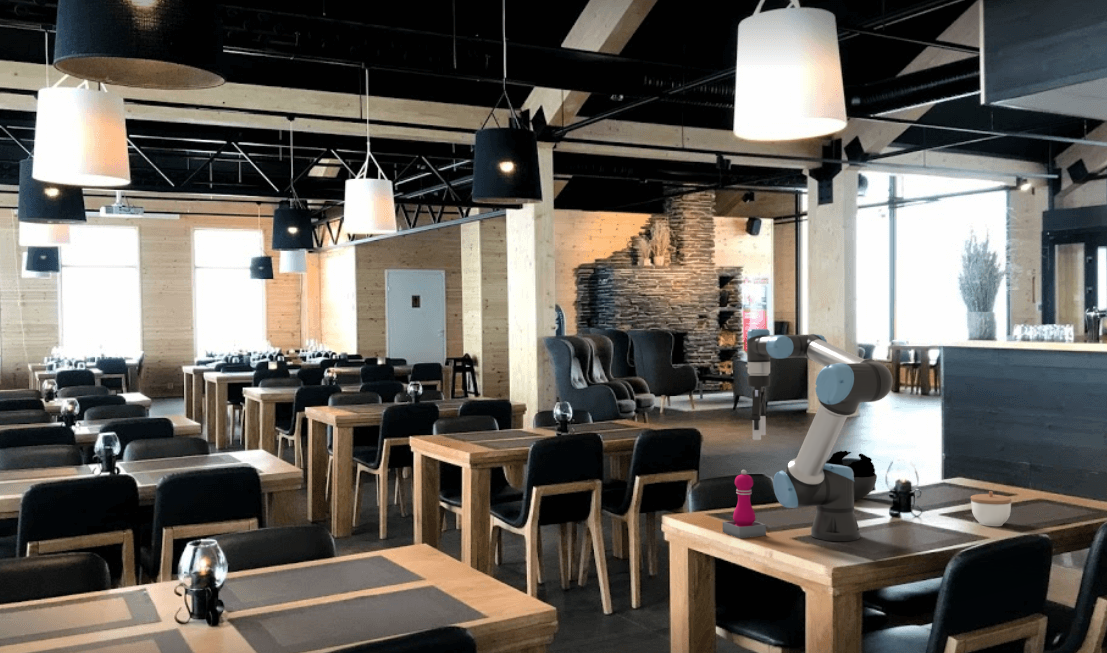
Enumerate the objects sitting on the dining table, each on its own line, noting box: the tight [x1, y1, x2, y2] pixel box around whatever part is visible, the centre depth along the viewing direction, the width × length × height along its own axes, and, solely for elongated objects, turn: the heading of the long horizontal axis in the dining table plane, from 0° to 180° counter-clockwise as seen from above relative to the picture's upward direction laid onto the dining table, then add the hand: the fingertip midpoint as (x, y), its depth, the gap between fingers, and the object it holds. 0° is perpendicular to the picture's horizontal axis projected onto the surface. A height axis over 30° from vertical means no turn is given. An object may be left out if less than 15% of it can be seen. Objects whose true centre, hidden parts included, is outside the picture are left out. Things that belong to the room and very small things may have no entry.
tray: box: [722, 520, 767, 539], centre depth 326 cm, size 10×10×4 cm
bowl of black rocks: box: [826, 450, 878, 501], centre depth 385 cm, size 20×20×19 cm
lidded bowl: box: [970, 491, 1012, 527], centre depth 337 cm, size 13×13×11 cm
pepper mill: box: [732, 469, 757, 527], centre depth 326 cm, size 7×7×20 cm
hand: (759, 437), depth 338 cm, fingers open, 13 cm apart
